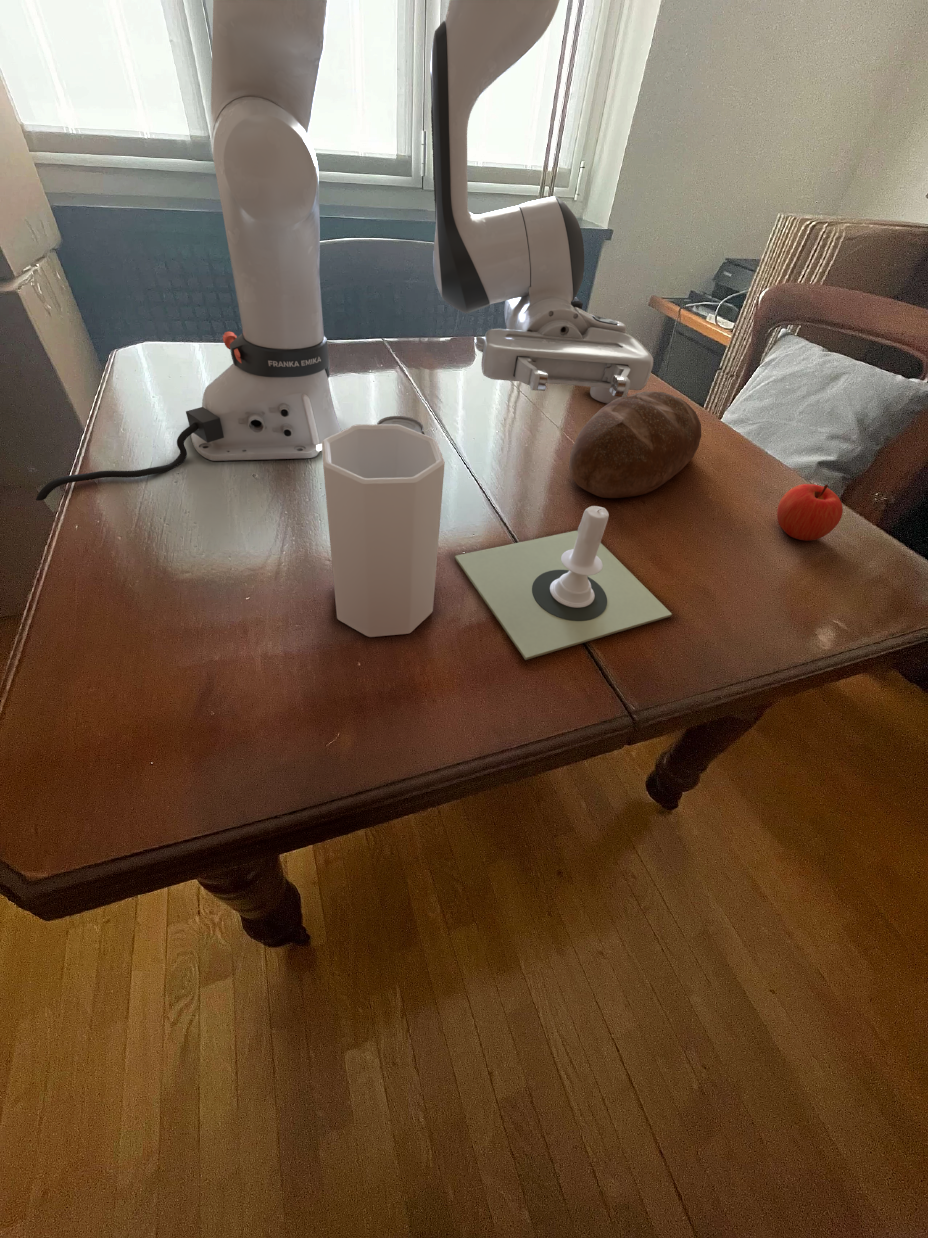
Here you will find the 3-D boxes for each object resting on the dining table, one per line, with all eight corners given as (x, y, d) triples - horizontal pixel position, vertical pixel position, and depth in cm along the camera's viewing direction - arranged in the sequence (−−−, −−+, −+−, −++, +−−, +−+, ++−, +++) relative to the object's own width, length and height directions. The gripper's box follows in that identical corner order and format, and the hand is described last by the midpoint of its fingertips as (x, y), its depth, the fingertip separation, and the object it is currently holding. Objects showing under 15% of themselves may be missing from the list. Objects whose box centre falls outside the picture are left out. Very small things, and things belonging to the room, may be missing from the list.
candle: (603, 599, 64) (635, 513, 56) (570, 614, 62) (598, 526, 54) (573, 573, 67) (599, 488, 59) (540, 586, 65) (563, 499, 57)
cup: (420, 648, 57) (430, 493, 44) (317, 627, 57) (297, 468, 44) (442, 581, 65) (456, 433, 52) (351, 563, 65) (342, 413, 52)
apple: (773, 511, 84) (801, 464, 79) (828, 532, 82) (860, 484, 76) (761, 533, 79) (789, 484, 74) (819, 556, 77) (853, 507, 71)
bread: (542, 476, 85) (558, 404, 77) (631, 425, 102) (652, 362, 94) (630, 520, 78) (657, 446, 70) (709, 457, 96) (739, 393, 88)
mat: (525, 660, 57) (526, 657, 57) (454, 558, 68) (455, 554, 68) (671, 616, 64) (672, 613, 64) (585, 530, 75) (586, 527, 75)
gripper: (475, 308, 65) (493, 348, 56) (635, 323, 69) (678, 364, 59) (469, 362, 70) (484, 409, 60) (619, 374, 73) (657, 420, 63)
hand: (582, 386), depth 59 cm, fingers open, 8 cm apart
